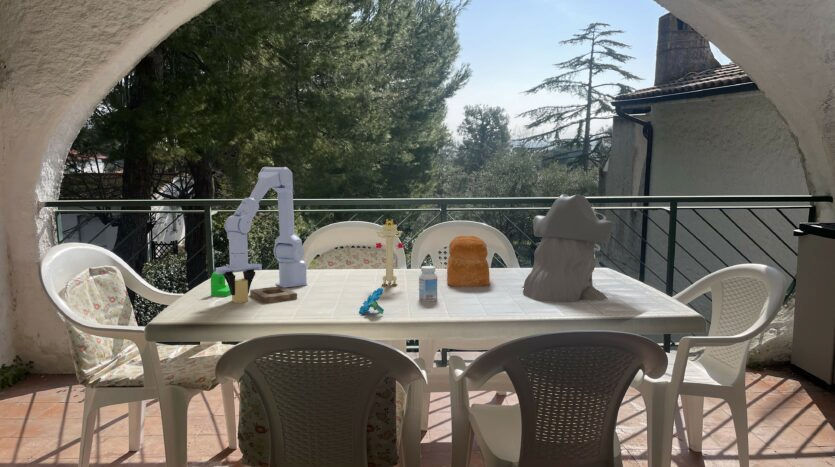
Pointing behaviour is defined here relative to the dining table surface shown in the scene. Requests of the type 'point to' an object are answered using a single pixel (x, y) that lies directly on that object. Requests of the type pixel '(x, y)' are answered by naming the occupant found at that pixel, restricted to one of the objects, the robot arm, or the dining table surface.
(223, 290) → the mechanical part
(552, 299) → the bust
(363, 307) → the blue flower
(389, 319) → the dining table surface
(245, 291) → the sand colored cuboid
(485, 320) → the dining table surface
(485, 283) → the bread
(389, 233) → the cat figure
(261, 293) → the brown square frame
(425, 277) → the pill bottle
